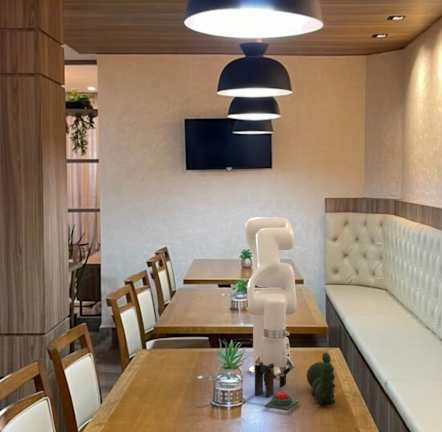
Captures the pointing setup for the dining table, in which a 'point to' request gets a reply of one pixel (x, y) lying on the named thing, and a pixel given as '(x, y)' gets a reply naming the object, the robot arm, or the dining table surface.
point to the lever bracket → (268, 380)
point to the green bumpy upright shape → (322, 380)
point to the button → (281, 395)
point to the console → (281, 403)
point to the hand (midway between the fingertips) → (274, 384)
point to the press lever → (263, 371)
